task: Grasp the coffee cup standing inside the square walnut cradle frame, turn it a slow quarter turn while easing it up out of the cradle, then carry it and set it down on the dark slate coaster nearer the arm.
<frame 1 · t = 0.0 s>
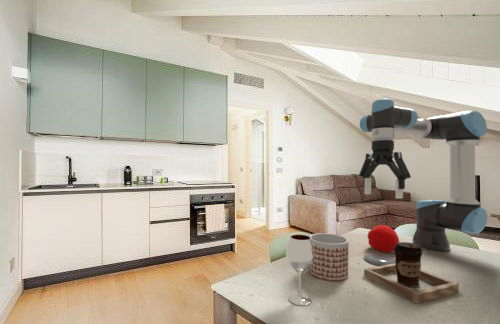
hand: (382, 196, 93), 28 cm above the table, fingers open, 13 cm apart
coffee cup: (408, 284, 82), resting in cradle
tomato: (382, 250, 116), on the table
cradle: (408, 283, 82), on the table
planter: (328, 273, 89), on the table
wineglass: (299, 300, 71), on the table
coaster: (381, 260, 102), on the table
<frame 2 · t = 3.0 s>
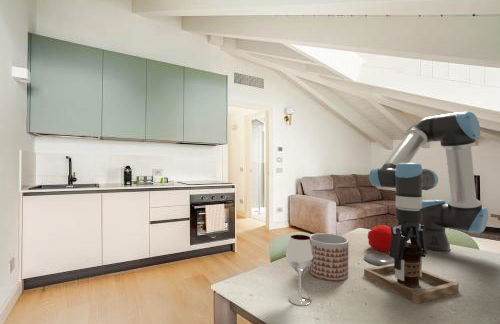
hand: (408, 276, 82), 2 cm above the table, fingers closed on coffee cup, 8 cm apart
coffee cup: (408, 284, 82), resting in cradle, touching gripper
everything else where it was.
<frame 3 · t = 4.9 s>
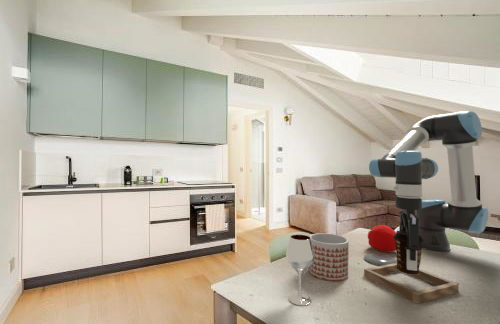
hand: (408, 264, 82), 6 cm above the table, fingers closed on coffee cup, 8 cm apart
coffee cup: (408, 272, 82), point 4 cm above the table, touching gripper
everything else where it was.
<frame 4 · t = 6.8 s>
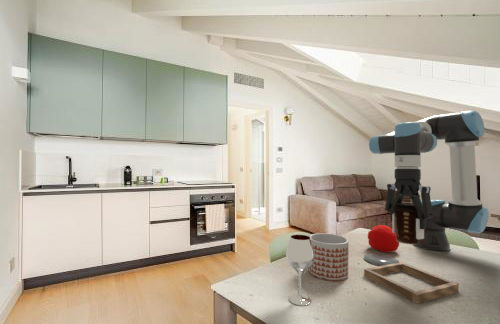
hand: (407, 235, 83), 16 cm above the table, fingers closed on coffee cup, 8 cm apart
coffee cup: (407, 242, 83), point 13 cm above the table, touching gripper
everything else where it was.
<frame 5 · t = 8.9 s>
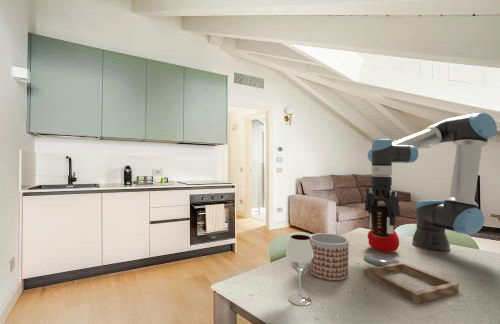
hand: (381, 230, 102), 13 cm above the table, fingers closed on coffee cup, 8 cm apart
coffee cup: (381, 236, 102), point 10 cm above the table, touching gripper
everything else where it was.
when the fingers open (3 cm above the table, at t = 10.9 s): coffee cup stays where it is, resting on coaster.
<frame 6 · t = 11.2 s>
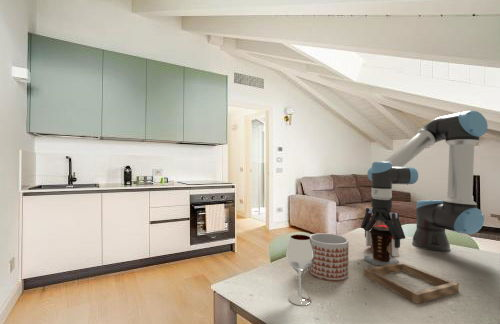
hand: (381, 250, 102), 4 cm above the table, fingers open, 12 cm apart
coffee cup: (381, 259, 102), resting on coaster
everything else where it was.
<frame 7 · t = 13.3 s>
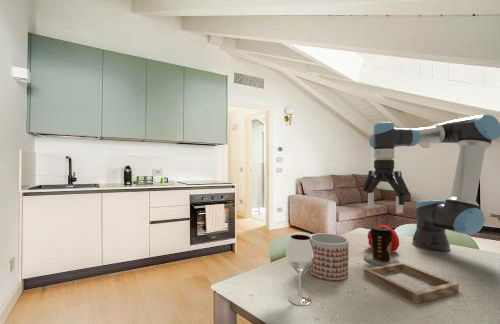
hand: (384, 210, 103), 21 cm above the table, fingers open, 13 cm apart
nothing on the table moved.
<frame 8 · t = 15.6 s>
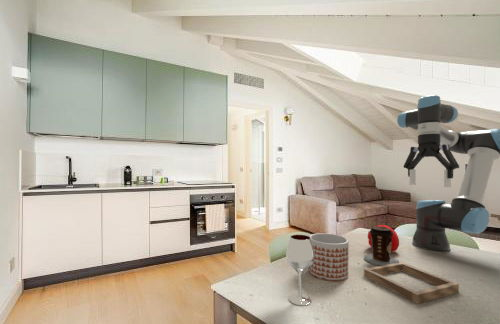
hand: (428, 185, 100), 32 cm above the table, fingers open, 13 cm apart
nothing on the table moved.
at the end: coffee cup 0.1 cm from the coaster (horizontally); coffee cup tilted 0°; the gripper is holding nothing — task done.
